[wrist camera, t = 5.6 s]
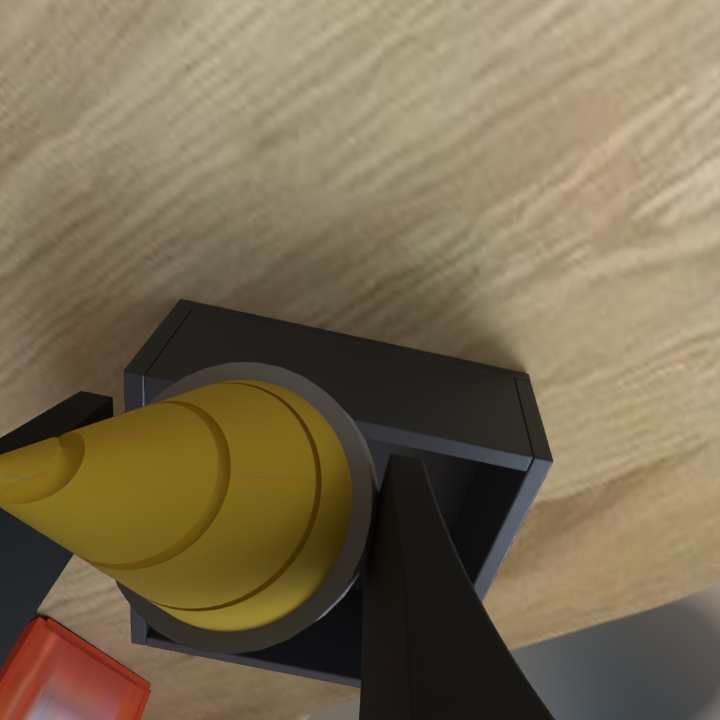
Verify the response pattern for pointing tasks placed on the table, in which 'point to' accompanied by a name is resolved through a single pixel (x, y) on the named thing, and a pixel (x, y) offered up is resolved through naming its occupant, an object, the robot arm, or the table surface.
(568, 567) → the table surface
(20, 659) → the file binder
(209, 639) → the yellow traffic cone
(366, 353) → the bin
